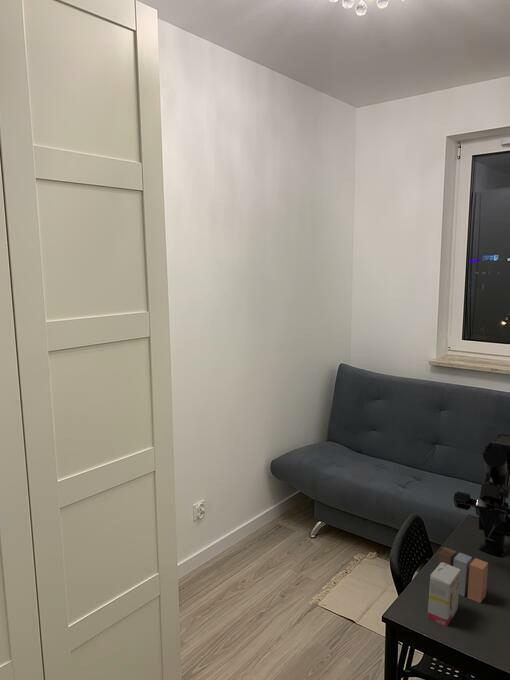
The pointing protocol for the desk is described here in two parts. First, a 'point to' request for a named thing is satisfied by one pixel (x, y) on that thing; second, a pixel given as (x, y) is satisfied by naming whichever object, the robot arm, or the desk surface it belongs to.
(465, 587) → the slate block
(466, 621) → the desk surface
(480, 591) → the terracotta block
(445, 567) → the ink box
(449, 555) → the walnut block
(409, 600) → the desk surface
